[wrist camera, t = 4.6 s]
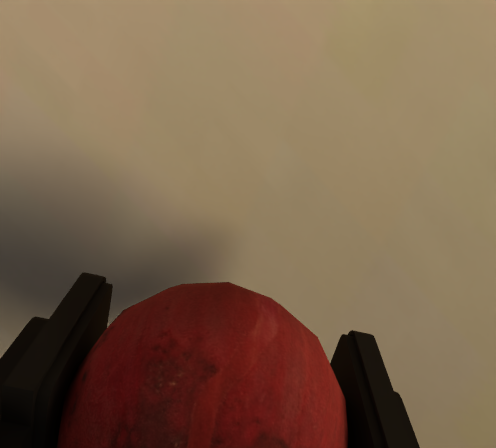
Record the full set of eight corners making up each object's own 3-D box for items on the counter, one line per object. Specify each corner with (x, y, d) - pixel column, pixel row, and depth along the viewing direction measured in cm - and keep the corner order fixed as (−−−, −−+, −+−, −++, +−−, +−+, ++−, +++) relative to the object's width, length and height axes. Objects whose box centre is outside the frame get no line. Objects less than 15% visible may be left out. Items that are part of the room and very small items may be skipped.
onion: (97, 235, 12) (-145, 557, 5) (320, 219, 12) (418, 536, 5) (138, 407, 15) (14, 801, 7) (326, 397, 14) (397, 799, 7)
